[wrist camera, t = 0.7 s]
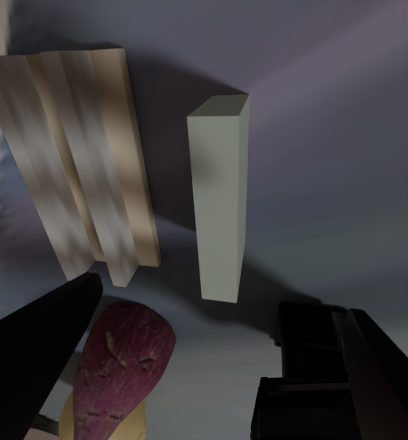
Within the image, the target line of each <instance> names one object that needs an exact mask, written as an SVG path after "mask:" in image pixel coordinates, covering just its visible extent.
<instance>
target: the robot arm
mask: <svg viewBox="0 0 408 440" xmlns="http://www.w3.org/2000/svg"><path fill="white" fill-rule="evenodd" d="M102 293H103V285H102V282H101V278H100V275H99V273H97V272H91V271H88V272H85V273H83V274H82V275H80V276H78V277H76V278H74V279H73V280H71V281H69V282H67V283H65V284H64V285H62V286H60V287H58V288H56V289H55V290H53V291H51V292H49V293H47V294H46V295H44V296H42V297H40V298H38V299H37V300H35V301H33V302H31V303H29V304H28V305H26V306H24V307H22V308H20V309H19V310H17V311H15V312H13V313H11V314H9V315H8V316H6V317H4V318H2V319H0V440H23V439H24V437H25V435H26V434H27V432H28V431H29V429H30V427H31V425H32V424H33V422H34V420H35V418H36V417H37V415H38V413H39V411H40V410H41V408H42V406H43V404H44V403H45V401H46V399H47V397H48V396H49V394H50V392H51V390H52V389H53V387H54V385H55V383H56V382H57V380H58V378H59V376H60V375H61V373H62V371H63V369H64V368H65V366H66V364H67V362H68V361H69V359H70V357H71V355H72V354H73V352H74V350H75V348H76V347H77V345H78V343H79V341H80V340H81V338H82V336H83V334H84V333H85V331H86V329H87V327H88V325H89V323H90V320H91V318H92V316H93V314H94V311H95V309H96V307H97V305H98V303H99V300H100V298H101V296H102ZM274 343H275V345H276V346H278V347H281V354H282V377H279V378H268V377H261V380H260V385H259V387H258V392H257V397H256V403H255V408H254V413H253V418H252V423H251V433H250V439H251V440H408V357H407V356H406V355H405V354H404V353H403V352H402V351H401V350H400V349H399V348H398V347H397V345H396V344H395V343H394V342H393V341H392V340H391V339H390V338H389V337H388V336H387V335H386V334H385V333H384V331H383V330H382V329H381V328H380V327H379V326H378V325H377V324H376V323H375V322H374V321H373V320H372V319H371V318H370V316H369V315H368V314H367V313H366V312H365V311H363V310H361V309H354V308H350V309H348V311H347V310H341V309H332V308H324V307H315V306H307V305H299V304H290V303H281V304H280V305H279V309H278V317H277V325H276V332H275V340H274Z"/></svg>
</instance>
